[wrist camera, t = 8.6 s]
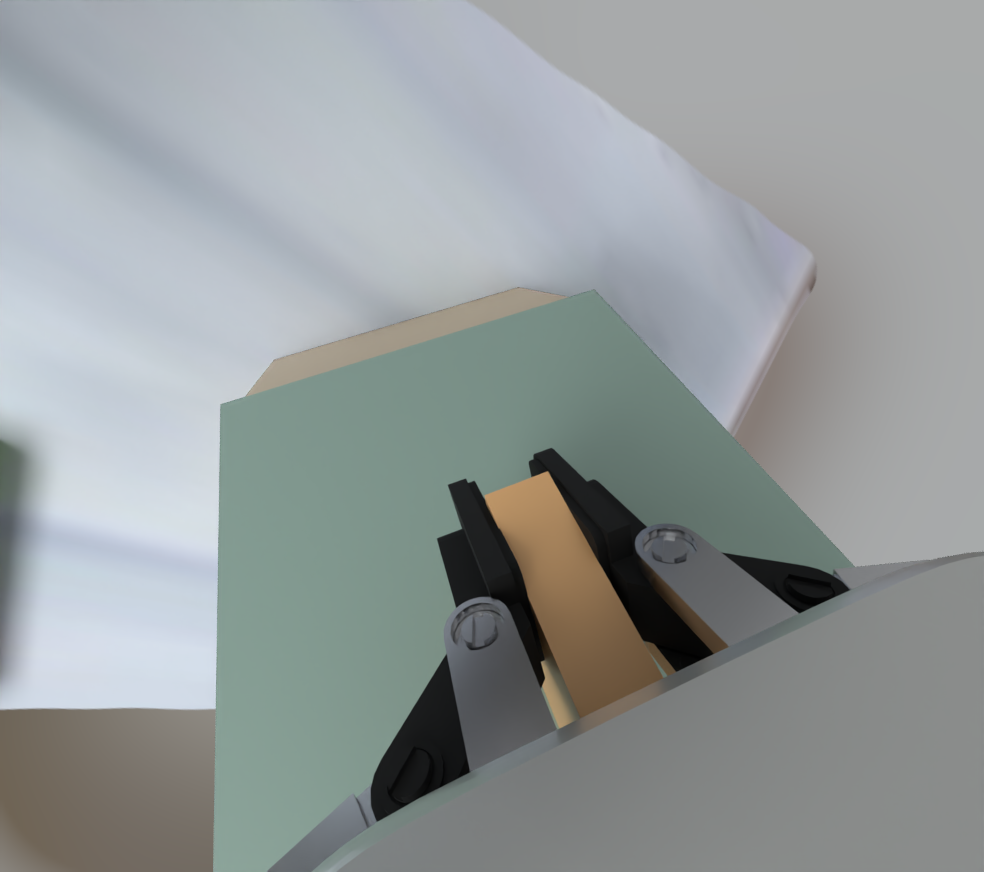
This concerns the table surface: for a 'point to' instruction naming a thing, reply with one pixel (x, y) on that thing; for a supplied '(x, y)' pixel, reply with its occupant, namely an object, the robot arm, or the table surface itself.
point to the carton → (399, 336)
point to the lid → (415, 551)
